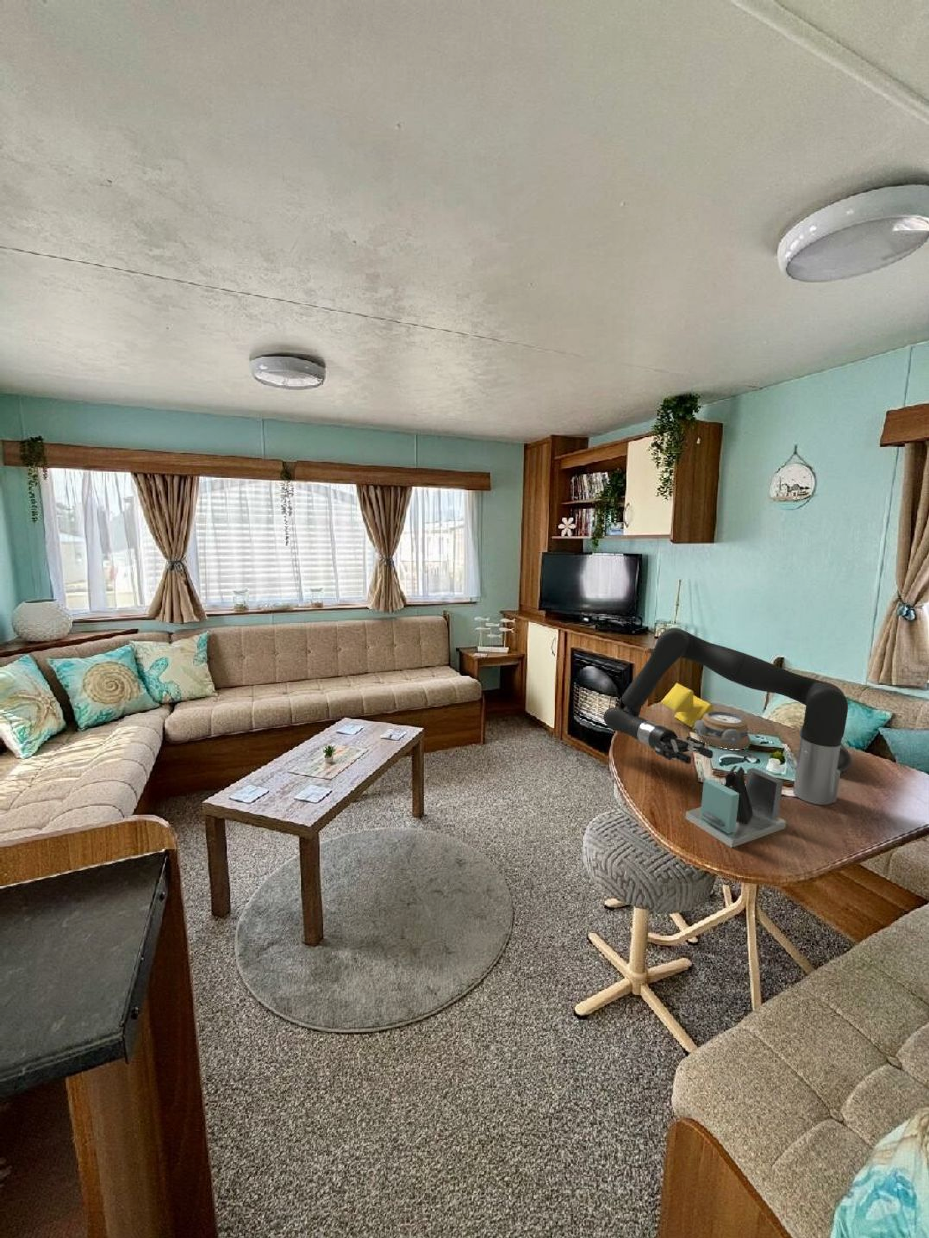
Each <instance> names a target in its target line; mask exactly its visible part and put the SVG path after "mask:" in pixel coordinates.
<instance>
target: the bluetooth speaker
mask: <svg viewBox="0 0 929 1238" xmlns="http://www.w3.org/2000/svg"><path fill="white" fill-rule="evenodd" d="M802 727H803V725H801V727H800V729H799V736H800V738H801V730H802ZM851 763H852V757H851V754H850V752H849V751H848V749H847V748H846V747H845V745H844V744H843V743H842V742H841V746H840V752H839V759H838V766H837V769H838V770H839V771H840V772H844V771H845V770H846V769H849V767H850V766H851Z"/></svg>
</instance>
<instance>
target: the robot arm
mask: <svg viewBox="0 0 929 1238" xmlns="http://www.w3.org/2000/svg"><path fill="white" fill-rule="evenodd" d="M655 643H656V644H655V646H654V648H653V651H652V652H651V654H650V656H649V658H648V660H647V661H646V662H645V665H643V667H642V669H641V670H640V671H639V672H638V674H637V675H636V676H635V678H633V680H632V682H631V683H630V684H629V686H628V687H627V689H626V690H625V691H624V693H623V694H622V697H621V701H622V703H623V704H624V705H625V706H624V708H619V707H615V706H612V707H609V708H608V709H606V710H605V711H604V713H603V722H604V723H605V725H606V726H607V727H608V728H610V729H612V730H614V731H617V732H620V733H621V734H625V735H627V736H629V737H631V738H633V739H635V740H637V741H639V742H641V743H642V744H644V745H646V747H649V748H651V749H652V750H654V753H656V754H658V755H659V756H662V757H663V758H665V759H666V760H667V761H669V760H670V761H671V760H672V759H673V760H678V761H680V762H682V763H685V764H686V765H690V764H691V763H692V756H690V755H689V754H693V753H696V754H699V755H701V756H703V757H705V758H708V759H713V757H714V751H713V750H711V749H710V748H709V749H708V748H706V744H705V743H704V742H701V741H700V740H699V739H697V738H693V737H691V736H686V739H683V738H681V737H678V736H677V735H678V734H676V732H675V731H674V730H673V729H670V728H668V727H665V726H663V725H661V724H658V722H657V723H656V722H654V721H653V722H652V721H650V720H647V719H645V718H643V717H640V716H639V715H640V713H641V710H642V707H644V705H645V704H646V702H647V701H648V699H649V698H650V697H651V695H652V694H653V692H654V690H655V689H656V688H657V685H658V684H659V682H660V681H661V679H662V678H663V676H664V674H666V672H667V671H668V670H669V669H670V668H671V667H672V665H674V664H675V663H676V662H677V661H678V660H679V659H680V658H683V659H686V660H690V661H693V662H695V663H697V664H700V665H703V666H704V667H706V668H707V669H709V670H711V671H712V672H714V673H715V674H718V675H719V676H720V677H721V678H724V679H726V680H727V681H730V682H732V683H735V684H737V685H740V686H743V687H746V688H749V689H752V690H755V691H756V690H757V691H760V692H765V693H772V694H778V695H781V696H784V697H787V698H789V699H791V700H794V701H797V702H798V703H800V704H802V705H804V706H805V711H804V718H803V723H802V726H803V727H802V726H801V727H802V730H801V737H800V738H799V739H800V740H799V746H798V756H797V761H796V762H797V763H796V769H795V777H794V784H793V790H792V791H793V794H794V795H795V796H796V797H797V798H799V799H800V800H803V801H804V802H806V803H809V804H812V805H813V804H815V805H821V806H829V805H831V804H832V803H836V802H837V796H838V791H839V784H840V777H841V771H839V770H838V769H837V766H838V759H839V752H840V746H841V743H842V739H843V738H844V734H845V730H846V726H847V725H846V724H847V718H848V712H849V703H848V700H847V698H846V696H845V694H844V692H843V691H842V690H841V688H839V687H838V686H837V685H835V684H832V683H830V682H827V681H824V680H820V679H816V678H811V677H808V676H804V675H801V674H799V673H798V674H797V673H795V672H792V671H789V670H786V669H784V668H783V667H780V666H778V665H775V664H773V663H771V662H768V661H767V660H763V659H761V658H758V657H756V656H753V655H750V654H748V653H745V652H742V651H739V650H737V649H732V648H729V647H726V646H723V645H718V644H716V643H712V642H709V641H707V640H704V639H702V638H700V637H697V636H696V635H694V634H692V633H690V632H687V631H686V630H683V629H681V628H678V627H671V628H667V629H666V630H665V631H663V632H662V633H661V634H660V635H659V636H658V638H657V642H655Z"/></svg>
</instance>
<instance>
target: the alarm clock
mask: <svg viewBox="0 0 929 1238" xmlns="http://www.w3.org/2000/svg"><path fill="white" fill-rule="evenodd" d="M692 730H693V731H694V732H695V734H696V737H697V738H696V739H697V740H699V741H702V742H704V743H706V744H705V745H707V744H709V745H712V746H715V747H722V748H727V749H743V748H746V747H748V746H749V747H750V743H751V738H750V736H749V733H748V731H749V727H748V722H747V720H746V719H744V718H742V717H741V716H740V715H737V714H735V713H731V712H727V711H719V710H717V711H714V712H709V713H706V714H704V715H703V718H702V720H698V721H696V722H695V725H694V728H692ZM709 745H708V746H709ZM712 746H711V747H712ZM715 747H714V748H715ZM749 747H748V748H749Z"/></svg>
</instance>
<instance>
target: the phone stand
mask: <svg viewBox="0 0 929 1238" xmlns="http://www.w3.org/2000/svg"><path fill="white" fill-rule="evenodd" d="M737 767H738V766H737V765H733V766H732V767H731V769H730V770H729V772H728V773H727V774H726V776H725V784H723V785H724V786H726V787H727V788H729V789H731V787H732V788H733V789H734V790H733V791H735V792H737V793H739V801H738V810H737V818H736V820H737V821H740V822H743V823H746V824H747V823H748V822H749V820H750V818H751V816H752V814H753V811H752V807H751V804H750V800H749V797H748V793H747V789H746V786H745V785H746V781H745V778H744V777H745V770H744V768H743V767H742V766H740V767H739V768H738V770H737V771H736V773H735V772H734V771H735V770H736V768H737Z"/></svg>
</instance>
